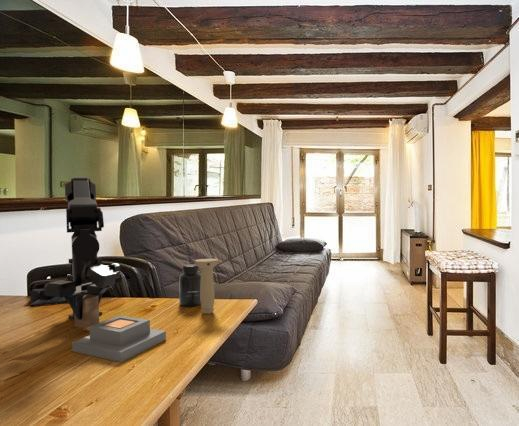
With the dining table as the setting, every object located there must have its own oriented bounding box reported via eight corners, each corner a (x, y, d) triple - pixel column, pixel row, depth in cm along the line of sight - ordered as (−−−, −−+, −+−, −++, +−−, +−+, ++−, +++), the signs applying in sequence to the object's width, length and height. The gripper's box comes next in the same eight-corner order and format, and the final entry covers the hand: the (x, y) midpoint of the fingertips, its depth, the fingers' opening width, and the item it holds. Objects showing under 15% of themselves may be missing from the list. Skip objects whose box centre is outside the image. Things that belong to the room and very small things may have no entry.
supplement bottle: (191, 308, 121) (191, 267, 120) (174, 305, 124) (173, 265, 124) (206, 302, 127) (206, 264, 126) (190, 300, 130) (189, 262, 130)
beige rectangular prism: (86, 328, 99) (85, 299, 99) (74, 326, 101) (73, 297, 100) (99, 323, 103) (98, 295, 102) (87, 321, 104) (86, 294, 104)
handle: (220, 314, 115) (219, 260, 114) (197, 316, 112) (196, 262, 112) (216, 309, 119) (215, 258, 118) (194, 311, 117) (193, 259, 116)
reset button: (104, 337, 90) (104, 325, 90) (120, 331, 94) (120, 319, 94) (120, 340, 88) (120, 328, 88) (135, 334, 92) (135, 321, 92)
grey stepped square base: (72, 351, 88) (71, 328, 88) (120, 331, 101) (120, 311, 101) (121, 362, 82) (120, 337, 82) (166, 339, 95) (165, 318, 94)
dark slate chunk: (102, 302, 131) (101, 287, 131) (25, 308, 125) (24, 293, 125) (106, 291, 145) (106, 278, 145) (38, 296, 140) (37, 282, 139)
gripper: (75, 262, 89) (78, 333, 90) (136, 250, 106) (138, 310, 106) (41, 259, 94) (44, 326, 95) (105, 248, 111) (106, 306, 111)
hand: (86, 316), depth 102 cm, fingers closed on beige rectangular prism, 4 cm apart
